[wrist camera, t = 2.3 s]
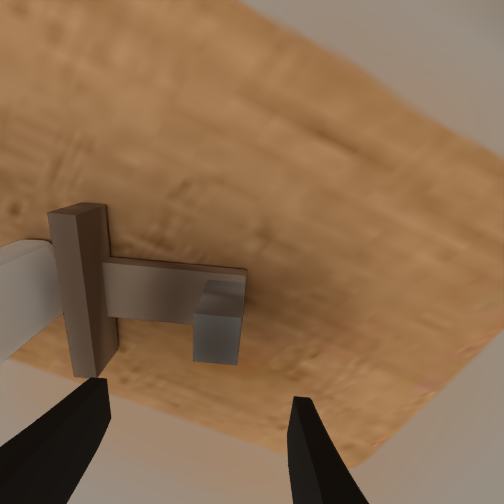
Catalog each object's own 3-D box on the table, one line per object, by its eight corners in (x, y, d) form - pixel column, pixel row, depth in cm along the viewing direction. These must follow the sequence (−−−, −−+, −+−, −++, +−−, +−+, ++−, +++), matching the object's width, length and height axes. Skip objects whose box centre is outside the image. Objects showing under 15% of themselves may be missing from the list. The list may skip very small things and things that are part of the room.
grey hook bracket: (98, 346, 21) (52, 402, 17) (81, 202, 18) (15, 221, 13) (238, 360, 21) (232, 419, 17) (251, 218, 18) (247, 243, 13)
